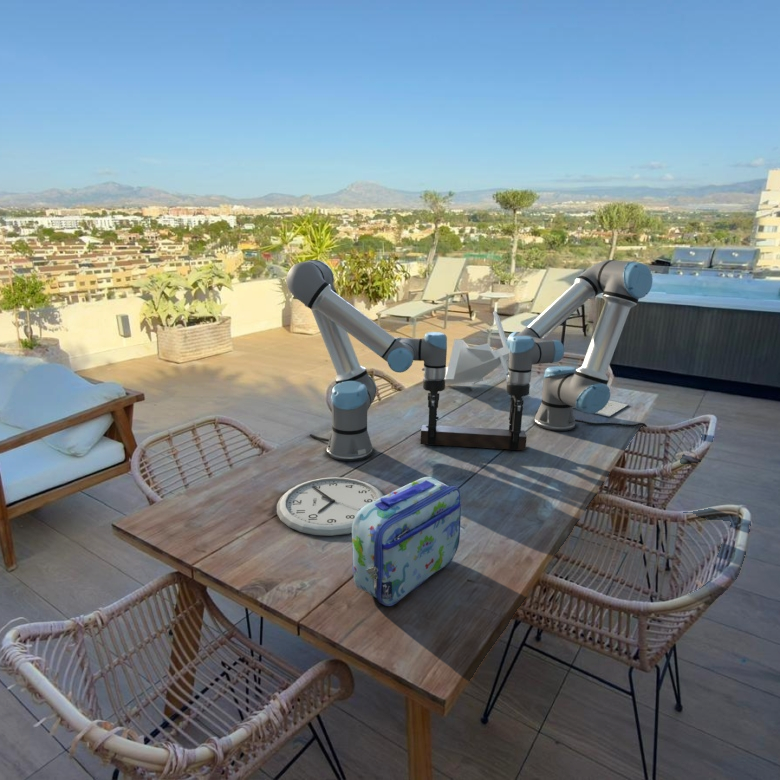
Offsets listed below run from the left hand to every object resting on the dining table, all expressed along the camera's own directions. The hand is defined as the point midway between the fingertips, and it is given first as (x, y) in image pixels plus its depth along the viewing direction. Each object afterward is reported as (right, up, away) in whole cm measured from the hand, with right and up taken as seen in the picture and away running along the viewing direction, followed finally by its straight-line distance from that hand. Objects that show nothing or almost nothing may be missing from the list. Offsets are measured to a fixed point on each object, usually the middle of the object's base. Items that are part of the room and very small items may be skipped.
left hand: (431, 440), depth 185 cm
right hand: (+28, -2, -3) cm, 28 cm away
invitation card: (+77, +11, +41) cm, 88 cm away
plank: (+14, -1, -1) cm, 14 cm away
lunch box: (-11, -23, -72) cm, 76 cm away
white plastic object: (+27, +17, +58) cm, 66 cm away
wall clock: (-31, -14, -43) cm, 54 cm away
